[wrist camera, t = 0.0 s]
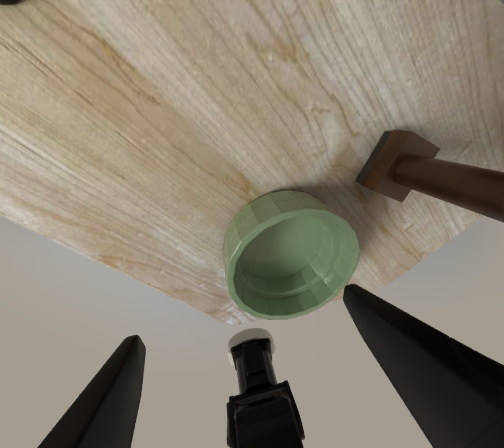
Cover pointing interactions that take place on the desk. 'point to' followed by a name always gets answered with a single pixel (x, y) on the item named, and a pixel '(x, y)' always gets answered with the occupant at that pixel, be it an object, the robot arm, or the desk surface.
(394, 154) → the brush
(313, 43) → the desk surface
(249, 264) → the bowl
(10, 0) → the dark sector wedge
